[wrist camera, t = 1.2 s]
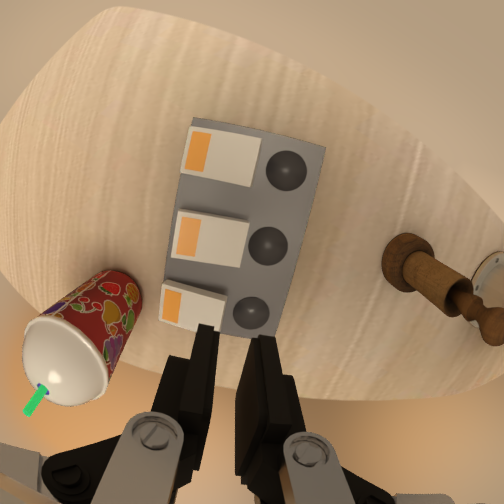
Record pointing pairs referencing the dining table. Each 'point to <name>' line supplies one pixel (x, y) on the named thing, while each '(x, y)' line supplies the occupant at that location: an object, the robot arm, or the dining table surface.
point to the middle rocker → (209, 238)
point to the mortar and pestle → (439, 285)
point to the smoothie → (80, 340)
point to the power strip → (253, 229)
